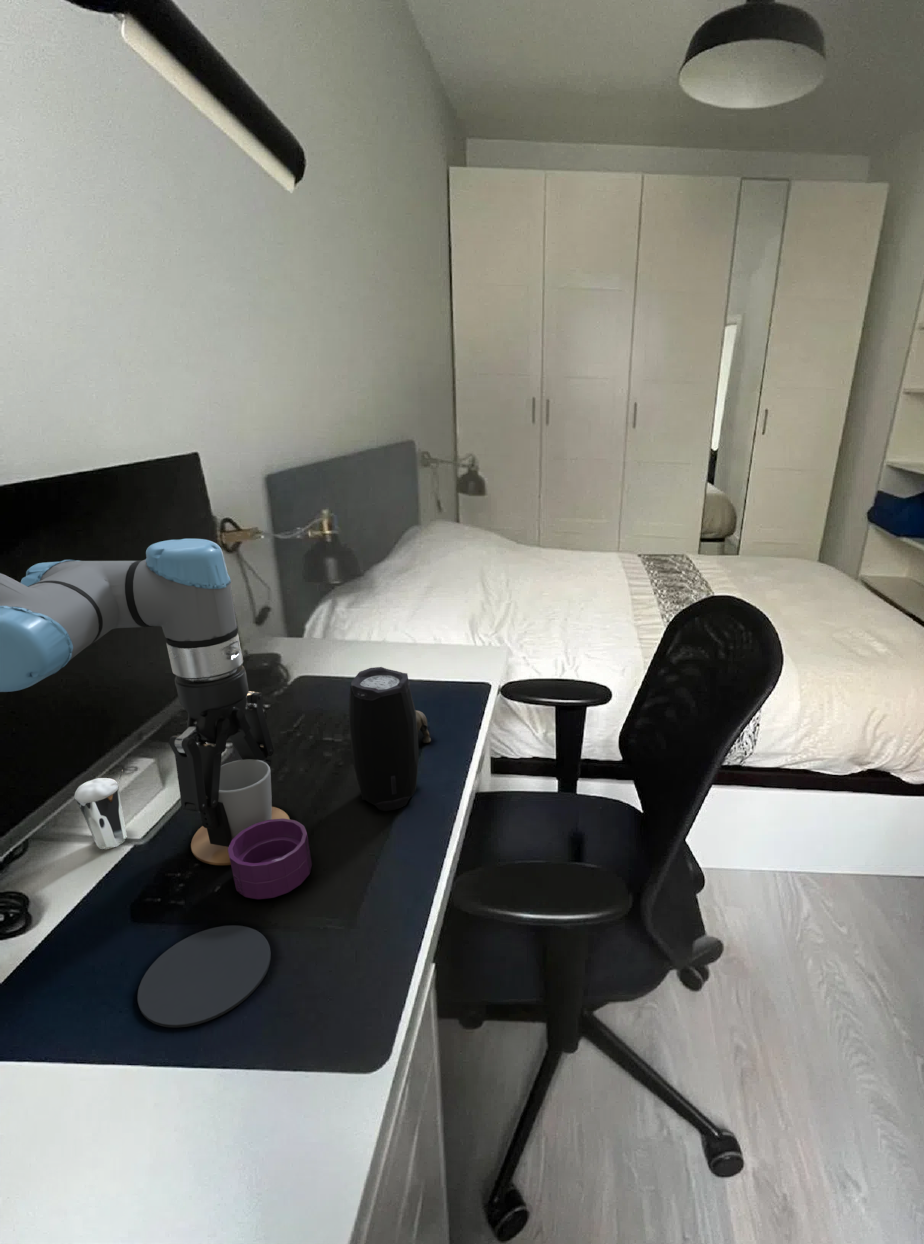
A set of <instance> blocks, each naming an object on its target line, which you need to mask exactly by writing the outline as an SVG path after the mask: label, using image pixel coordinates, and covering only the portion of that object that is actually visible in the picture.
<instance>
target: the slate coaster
mask: <svg viewBox="0 0 924 1244" xmlns="http://www.w3.org/2000/svg"><path fill="white" fill-rule="evenodd" d="M271 959H272V953H271V946H270V943H269V941H268V939H267V938H266V937H265V936H264V934H262V933H261V932H259V930H256V929H255V928H252V927H249V926H245V925H244V926H243V925H233V924H232V925H221V926H215V927H211V928H207V929H205V930H202V931H199V932H196V933H194V934H191V935H189V936H188V937H186V938H183V939H182V940H180V941H178V942H176V943H175V944H173V946H171V947H169V948H168V949H167V950H165V951H164V952H163V953H162V954H161V955H160V956H158V957H157V958H156V959H155V960H154V961H153V963H151V965H150V966H149V968H148V969H147V970H146V971H145V973H144V975H143V977H142V978H141V981H140V983H139V985H138V990H137V998H136V999H137V1004H138V1009H139V1010H140V1013H141V1015H142V1016H143V1017H144V1018H145V1019H146V1020H148V1021H149V1022H150V1023H152V1024H153V1025H157V1026H161V1027H164V1028H175V1029H176V1028H177V1029H178V1028H187V1027H193V1026H198V1025H201V1024H204V1023H207V1022H210V1021H212V1020H215V1019H217V1018H219V1017H221V1016H223V1015H225V1014H227V1013H229V1012H230V1011H233V1009H235V1008H237V1006H239V1005H241V1004H242V1003H243V1002H244V1001H245V1000H247V999H248V998H249V997H250V996H251V995H252V994H253V993H254V992H255V991H256V990H257V989H258V987H259V986H260V985H261V983H262V982H263V980H264V979H265V976H266V975H267V973H268V971H269V967H270V965H271Z"/></svg>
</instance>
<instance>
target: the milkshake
mask: <svg viewBox="0 0 924 1244" xmlns="http://www.w3.org/2000/svg"><path fill="white" fill-rule="evenodd" d="M123 770H124V769H121V772H120V775H119V779H118V781H117V780H115V779H113V778H110V777H108V778H107V777H98V778H97V777H96V778H94V779H91V780H88V781H86V782H84V783H81V784H80V785H79V786H78V787H77V789H76V790H75V792H74V799H75V801H76V804H77V805H78V807H79V809H80V811H81V813H82V815H83V818H84V820H85V823H86V824H87V826H88V829H89V831H90V834H91V836H92V838H93V841H94V843H95V845H96V847H97V848H98V849H99V850H110V849H113V848H117V847H119V846H121V844H123V843H125V841H126V840H127V838H128V834H127V829H126V823H125V818H124V812H123V807H122V806H123V805H122V801H121V800H122V799H121V794H120V787H119V786H120V785H119V784H120V781H121V779H122V775H123Z"/></svg>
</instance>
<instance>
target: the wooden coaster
mask: <svg viewBox="0 0 924 1244" xmlns="http://www.w3.org/2000/svg"><path fill="white" fill-rule="evenodd" d="M282 818H283V819H290V816H289V815H288V813H287V812H285V811H284V810H283V809H280V808H279V807H276V806H272V819H282ZM190 850H191V852H192V855H193V856H194V857H195V858H196V860H198V861H200V862H202V863H204V864H209V865H211V866H212V865H213V866H231V863H230V859H229V854H228V847H225V846H220V845H214V844H210V840H209V836H208V832H207V828H204V827H203V825H201V826H200V828H198V829H197V831H196V832H195V833H194V835H193V836H192V839H191V843H190Z"/></svg>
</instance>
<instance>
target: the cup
mask: <svg viewBox="0 0 924 1244" xmlns="http://www.w3.org/2000/svg"><path fill="white" fill-rule="evenodd" d="M218 793H219V798H218V802H221V803H223V805H224V808H225V811H226V814H227V818H228V823H229V827H230V832H231V837H232V839H233V838H234V837H235V836H237V835H238V834H239V833H240V832H241V831H242V830H244V829H246V828H248V827H250V826H252V825H253V824H256V823H259V822H263V821H266V820H270V819H272V807H273V803H272V801H273V799H272V797H273V796H272V795H273V794H272V776H271V766H270V767H269V765H268V764H267V763H265V762H263V761H261V760H255V759H244V760H243V759H238V760H233V761H230V762H227V763H223V764H221V771H220V784H219V792H218ZM198 813H199V814H200V812H198Z"/></svg>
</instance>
